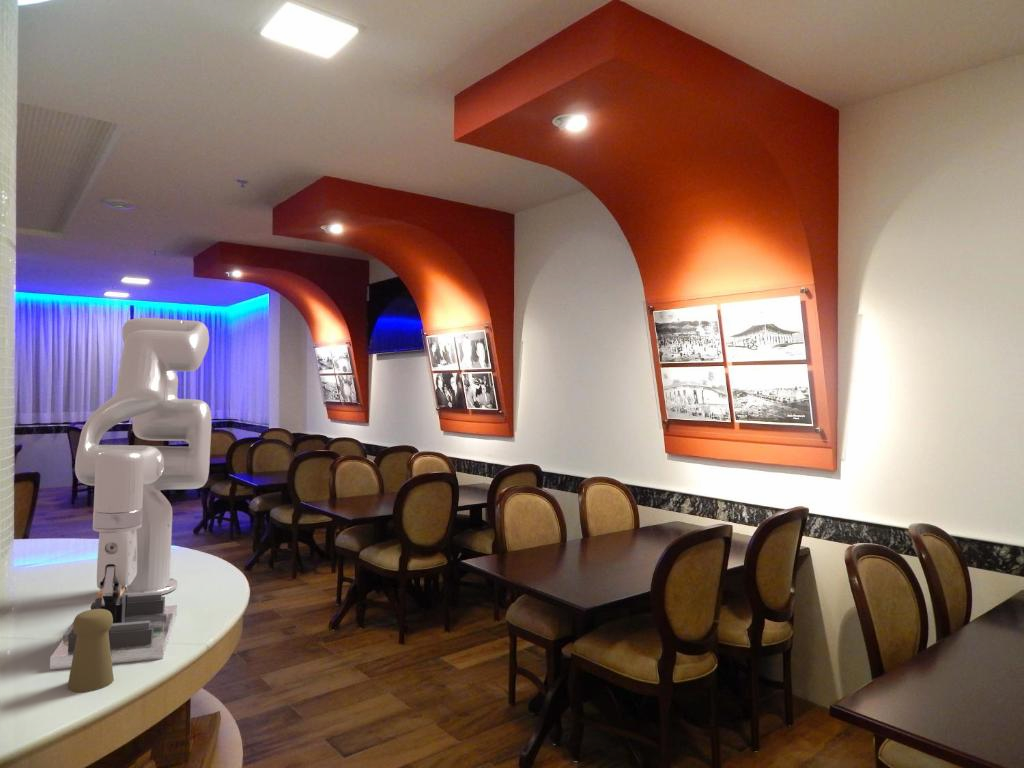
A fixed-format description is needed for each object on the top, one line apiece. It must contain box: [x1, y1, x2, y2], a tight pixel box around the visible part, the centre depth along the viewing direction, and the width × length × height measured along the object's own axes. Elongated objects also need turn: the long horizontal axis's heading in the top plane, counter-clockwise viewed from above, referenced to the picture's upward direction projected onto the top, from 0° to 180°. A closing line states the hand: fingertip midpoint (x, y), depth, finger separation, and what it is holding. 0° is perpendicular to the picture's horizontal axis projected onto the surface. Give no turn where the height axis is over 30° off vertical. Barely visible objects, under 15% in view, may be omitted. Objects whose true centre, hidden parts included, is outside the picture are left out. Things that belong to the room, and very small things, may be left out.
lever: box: [95, 586, 126, 623], centre depth 119 cm, size 4×4×7 cm
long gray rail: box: [68, 593, 166, 652], centre depth 119 cm, size 18×12×3 cm, turn 21°
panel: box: [49, 604, 178, 671], centre depth 119 cm, size 22×16×3 cm
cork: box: [67, 609, 115, 693], centre depth 102 cm, size 6×6×11 cm
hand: (113, 621), depth 119 cm, fingers closed on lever, 4 cm apart
